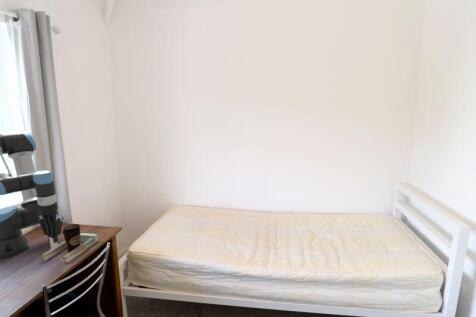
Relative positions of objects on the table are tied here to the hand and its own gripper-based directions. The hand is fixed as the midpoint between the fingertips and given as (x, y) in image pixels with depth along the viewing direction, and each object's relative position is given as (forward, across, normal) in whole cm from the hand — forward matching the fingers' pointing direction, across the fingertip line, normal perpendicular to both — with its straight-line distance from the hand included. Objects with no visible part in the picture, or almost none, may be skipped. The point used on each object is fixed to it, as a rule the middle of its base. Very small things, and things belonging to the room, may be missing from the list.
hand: (54, 247), depth 135 cm
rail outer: (+7, +7, +8) cm, 13 cm away
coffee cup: (+7, +1, +11) cm, 13 cm away
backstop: (+7, +1, +20) cm, 21 cm away
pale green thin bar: (+7, -6, +8) cm, 12 cm away
